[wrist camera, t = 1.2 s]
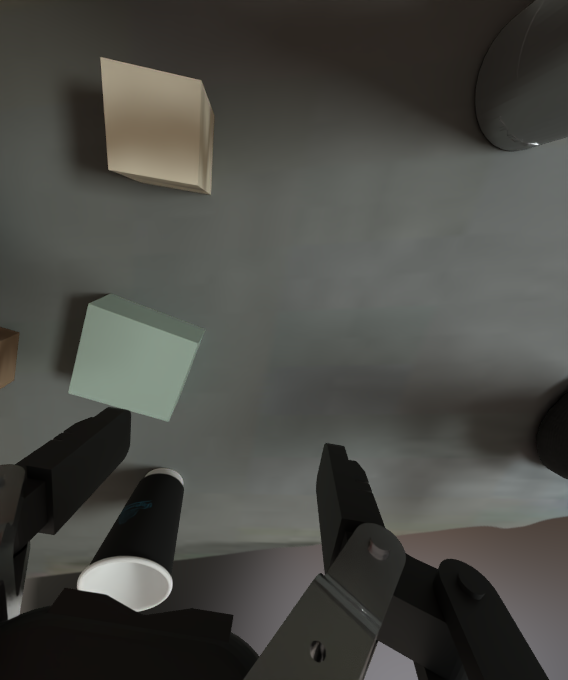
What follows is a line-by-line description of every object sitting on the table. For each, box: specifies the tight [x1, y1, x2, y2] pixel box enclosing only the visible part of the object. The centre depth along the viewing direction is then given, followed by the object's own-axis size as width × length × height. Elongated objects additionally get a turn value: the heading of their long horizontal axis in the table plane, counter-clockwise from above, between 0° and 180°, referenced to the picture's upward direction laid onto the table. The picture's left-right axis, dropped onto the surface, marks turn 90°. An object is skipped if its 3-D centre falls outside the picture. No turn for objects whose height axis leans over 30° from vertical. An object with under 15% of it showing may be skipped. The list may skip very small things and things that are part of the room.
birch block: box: [100, 57, 214, 195], centre depth 19 cm, size 6×6×6 cm
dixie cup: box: [77, 468, 184, 612], centre depth 29 cm, size 8×8×11 cm
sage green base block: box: [68, 294, 205, 422], centre depth 26 cm, size 9×9×4 cm
